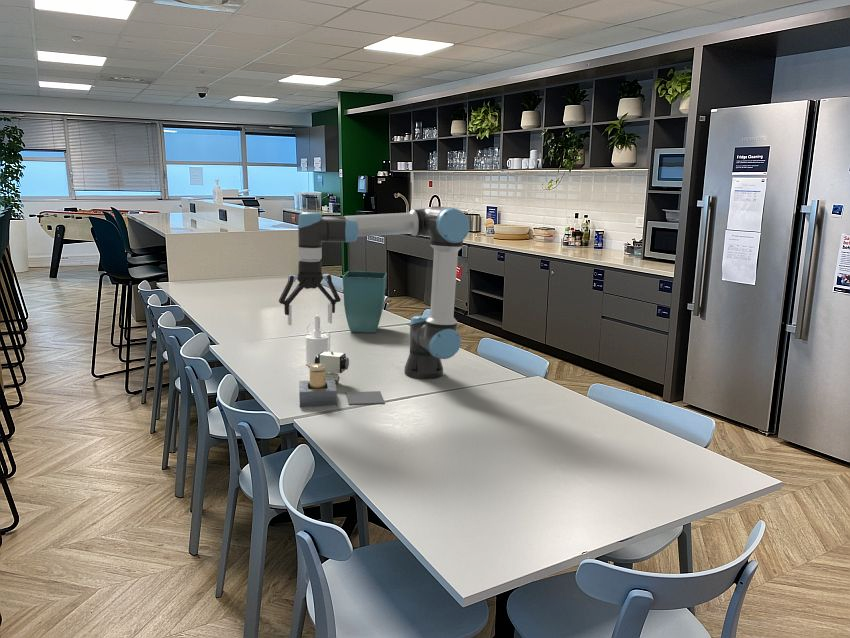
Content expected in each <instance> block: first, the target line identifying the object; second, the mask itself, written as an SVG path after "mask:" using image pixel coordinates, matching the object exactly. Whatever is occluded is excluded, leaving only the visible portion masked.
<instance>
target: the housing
mask: <svg viewBox="0 0 850 638" xmlns="http://www.w3.org/2000/svg"><path fill="white" fill-rule="evenodd" d="M298 383H299V385H298V388H299V390H298V391H299V392H298V394H299V396H298V398H299V399H298V401H299V407H301V408H303V407H327V406H328V407H330V406H331V407H332V406H337V404H338V403H337V402H338V391H337V385H336V384H337V383H336V384H335V380H326V382H325V389H310V380H299V382H298Z"/></svg>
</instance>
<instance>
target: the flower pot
mask: <svg viewBox="0 0 850 638" xmlns="http://www.w3.org/2000/svg"><path fill="white" fill-rule="evenodd" d="M387 274H388V273H387V272H383V271H382V272H381V271H359V270H348V271H346V272H345V273H344V275H342V288H343V290H342V291H343V306H344V312H345V317H346V321H347V324H348V325H347V326H348V329H349V331H350V333H369V334H370V333H371V334H372V333H373V334H375V333H376V332H377V330H378V328H379V324H380V321H381V318H382V313H383V309H384V305H385V298H386V297H385V295H386V289H387V288H386V285H387V276H388V275H387Z"/></svg>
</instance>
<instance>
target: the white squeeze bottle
mask: <svg viewBox="0 0 850 638" xmlns="http://www.w3.org/2000/svg"><path fill="white" fill-rule="evenodd" d="M310 325H314V329H313V331H309V326H310ZM306 331H307V332H308V333H309V334H307V335H305V336H304V337H305V351H306V352H305V353H306V354H305V361H306V362H305V365H306V366H308V367H310V365H312V364H315V357H316V356H317V355H318V354H320V353H321V352H331V333H330V332H329V331H325V330H323V329H322V328H321V316H319V315H315V316H314V322H311V323H310V322H309V323H308V325H306ZM322 332H323V333H322ZM325 333H327V334H325Z"/></svg>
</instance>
